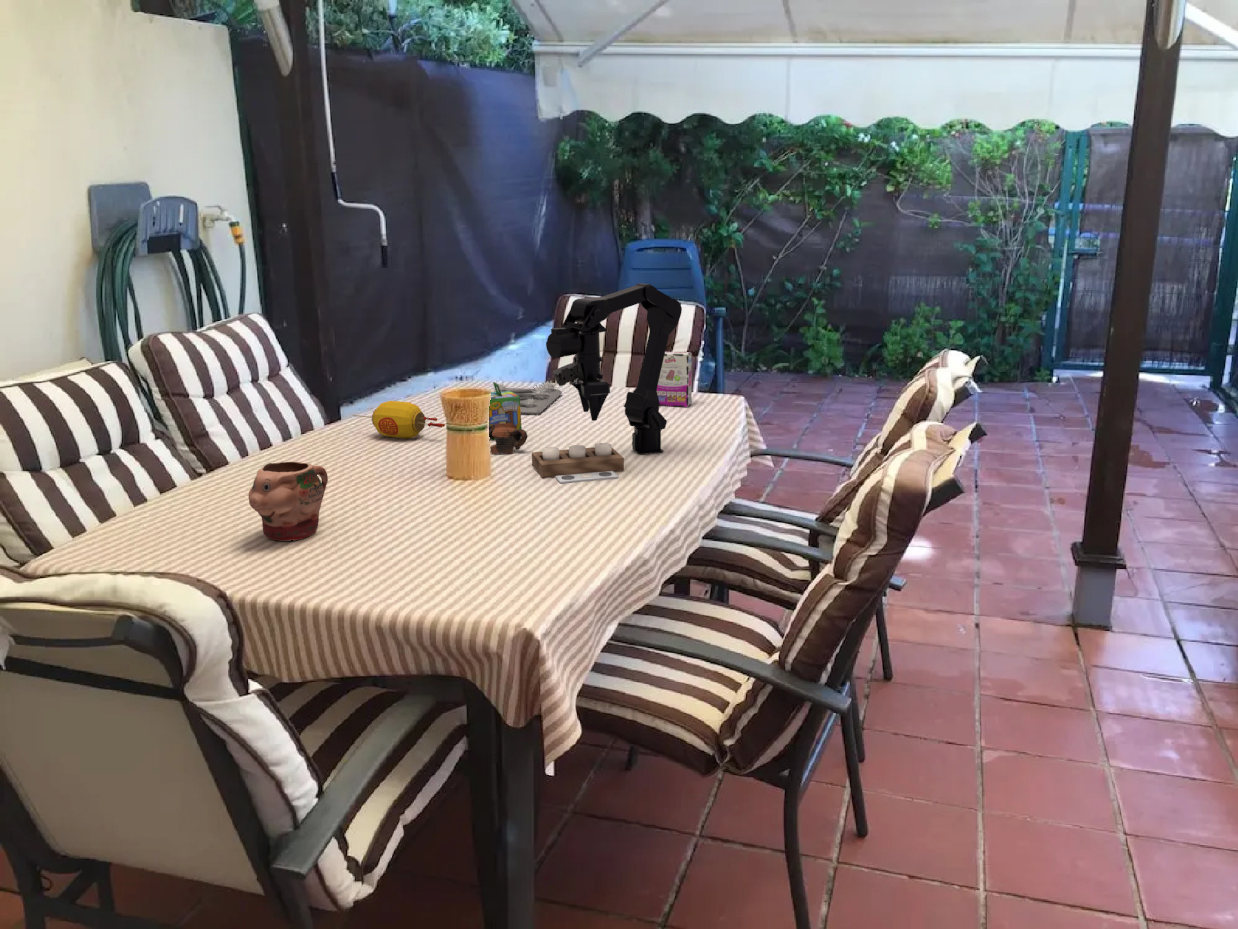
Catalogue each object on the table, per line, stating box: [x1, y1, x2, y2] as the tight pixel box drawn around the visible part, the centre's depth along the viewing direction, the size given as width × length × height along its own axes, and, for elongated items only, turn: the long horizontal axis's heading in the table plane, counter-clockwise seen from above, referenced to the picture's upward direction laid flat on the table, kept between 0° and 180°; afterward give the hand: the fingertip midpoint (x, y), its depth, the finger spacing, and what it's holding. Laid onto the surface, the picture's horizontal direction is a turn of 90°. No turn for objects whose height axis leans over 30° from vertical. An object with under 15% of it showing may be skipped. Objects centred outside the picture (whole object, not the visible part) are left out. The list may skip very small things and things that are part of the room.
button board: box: [531, 446, 625, 479], centre depth 247 cm, size 20×12×3 cm, turn 106°
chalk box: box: [489, 381, 523, 441], centre depth 277 cm, size 9×9×15 cm
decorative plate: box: [497, 380, 563, 416], centre depth 318 cm, size 30×22×7 cm
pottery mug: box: [489, 423, 528, 455], centre depth 264 cm, size 12×10×8 cm
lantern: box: [352, 400, 446, 440], centre depth 277 cm, size 10×10×30 cm
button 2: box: [594, 442, 612, 456], centre depth 248 cm, size 4×4×3 cm
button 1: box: [541, 446, 560, 461], centre depth 245 cm, size 4×4×3 cm
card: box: [554, 471, 619, 484], centre depth 239 cm, size 14×5×1 cm, turn 106°
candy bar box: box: [657, 351, 693, 408], centre depth 313 cm, size 11×5×16 cm, turn 73°
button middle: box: [568, 444, 586, 459], centre depth 246 cm, size 4×4×3 cm
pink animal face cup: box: [248, 461, 329, 542], centre depth 202 cm, size 20×12×14 cm, turn 159°
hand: (590, 416), depth 247 cm, fingers open, 9 cm apart
